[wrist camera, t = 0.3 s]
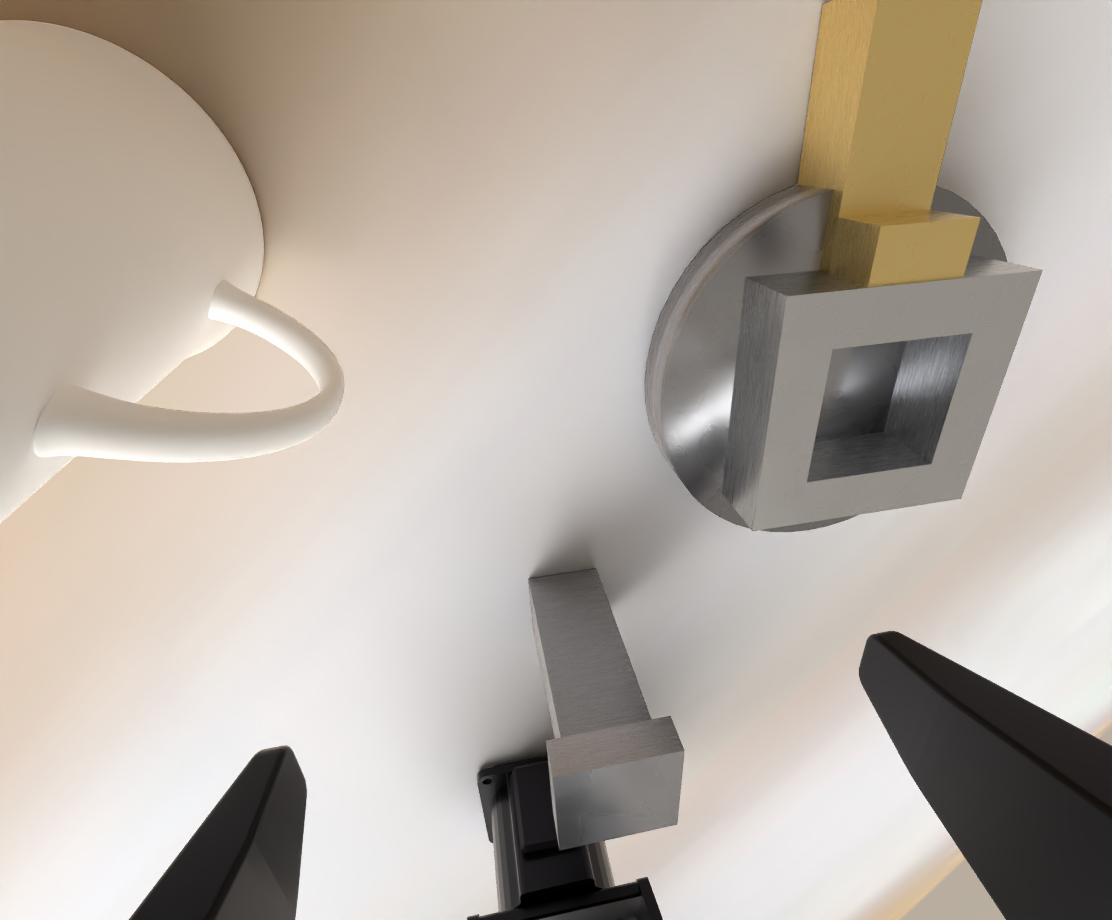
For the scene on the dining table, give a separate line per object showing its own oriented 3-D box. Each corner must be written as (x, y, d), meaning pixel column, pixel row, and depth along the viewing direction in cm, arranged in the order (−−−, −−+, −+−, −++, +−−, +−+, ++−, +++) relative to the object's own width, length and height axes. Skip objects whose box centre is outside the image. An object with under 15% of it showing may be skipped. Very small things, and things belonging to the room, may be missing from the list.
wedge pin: (607, 623, 27) (677, 824, 19) (523, 638, 27) (559, 850, 19) (606, 557, 25) (684, 750, 17) (515, 571, 25) (552, 777, 17)
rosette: (916, 483, 26) (999, 543, 22) (641, 525, 25) (678, 597, 21) (1065, -5, 18) (1243, -44, 14) (654, 10, 16) (724, -31, 12)
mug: (418, 215, 17) (389, 332, 7) (315, 443, 20) (188, 760, 10) (-79, -69, 13) (-2173, -896, 3) (-120, 277, 16) (-1169, 545, 5)
